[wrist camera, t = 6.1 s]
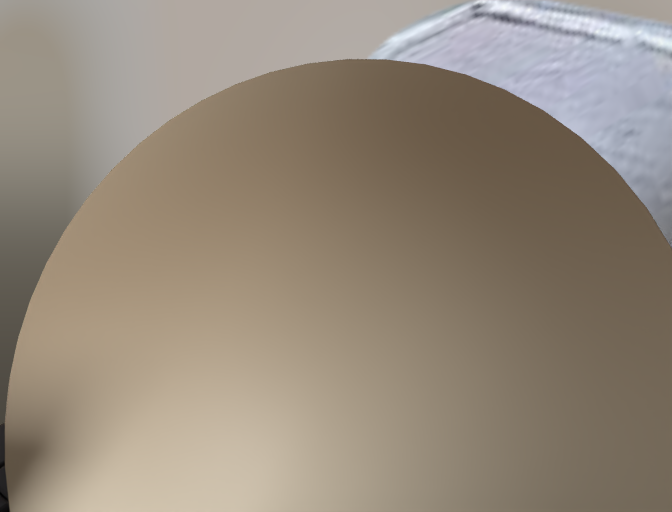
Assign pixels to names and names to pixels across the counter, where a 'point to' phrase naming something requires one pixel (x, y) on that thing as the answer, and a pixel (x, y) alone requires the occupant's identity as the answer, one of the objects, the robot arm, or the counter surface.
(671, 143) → the counter surface
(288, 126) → the birch cylinder
